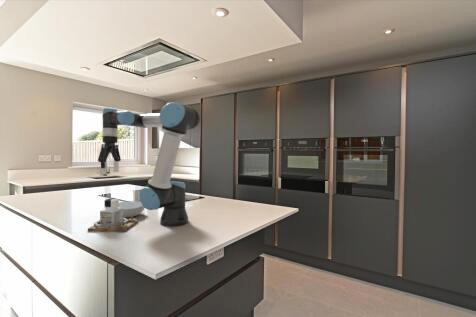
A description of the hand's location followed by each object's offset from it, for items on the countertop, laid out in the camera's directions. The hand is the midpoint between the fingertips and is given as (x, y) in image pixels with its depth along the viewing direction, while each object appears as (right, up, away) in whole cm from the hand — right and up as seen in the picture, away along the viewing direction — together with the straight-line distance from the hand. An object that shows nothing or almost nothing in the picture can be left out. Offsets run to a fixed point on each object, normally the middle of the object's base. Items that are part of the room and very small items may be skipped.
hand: (110, 173), depth 138 cm
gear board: (+9, -27, -12) cm, 31 cm away
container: (+7, -26, -12) cm, 30 cm away
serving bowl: (+5, -27, +9) cm, 29 cm away
